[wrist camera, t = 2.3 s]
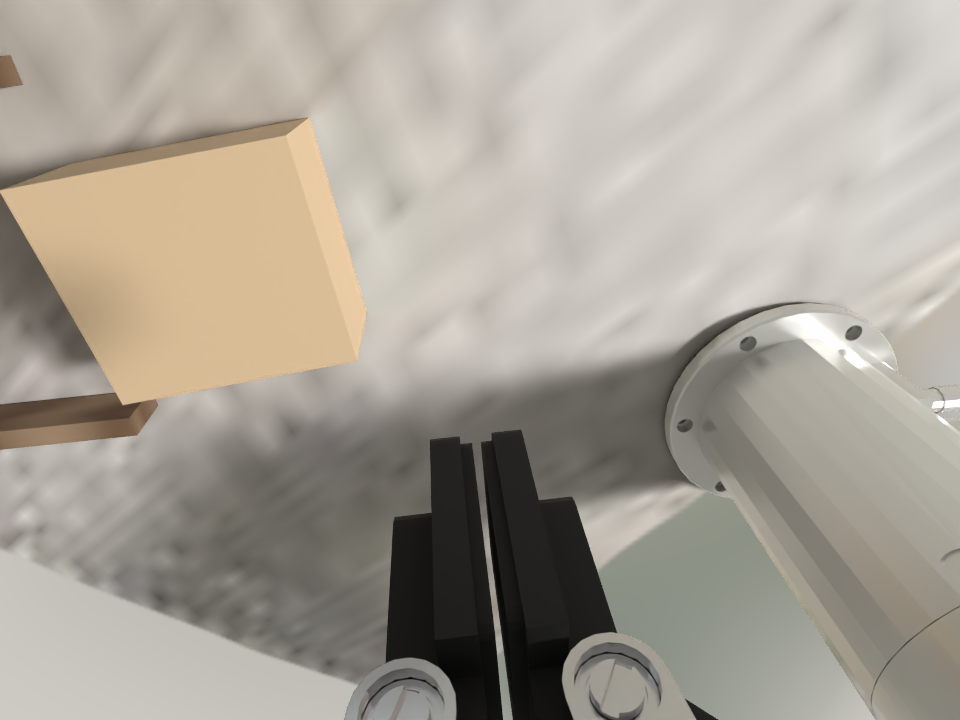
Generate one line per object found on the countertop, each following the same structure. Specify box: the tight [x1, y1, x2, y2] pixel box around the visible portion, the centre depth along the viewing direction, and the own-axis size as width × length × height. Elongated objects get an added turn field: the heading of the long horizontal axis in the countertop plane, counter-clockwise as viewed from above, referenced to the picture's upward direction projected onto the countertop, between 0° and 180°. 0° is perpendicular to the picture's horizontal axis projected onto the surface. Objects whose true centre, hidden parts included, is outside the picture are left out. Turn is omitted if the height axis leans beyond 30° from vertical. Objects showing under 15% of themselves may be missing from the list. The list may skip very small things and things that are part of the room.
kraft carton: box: [0, 117, 367, 405], centre depth 24 cm, size 10×9×5 cm
